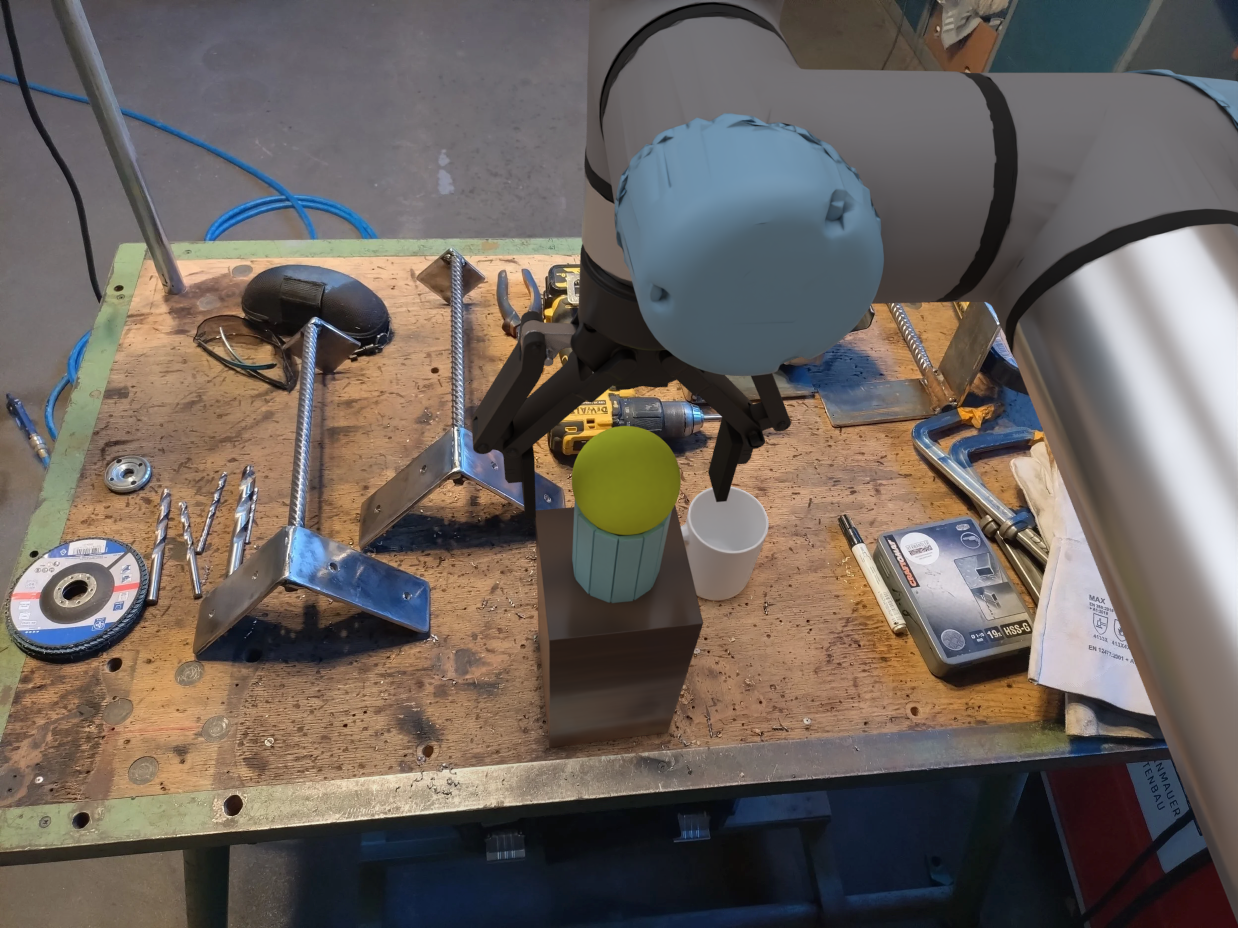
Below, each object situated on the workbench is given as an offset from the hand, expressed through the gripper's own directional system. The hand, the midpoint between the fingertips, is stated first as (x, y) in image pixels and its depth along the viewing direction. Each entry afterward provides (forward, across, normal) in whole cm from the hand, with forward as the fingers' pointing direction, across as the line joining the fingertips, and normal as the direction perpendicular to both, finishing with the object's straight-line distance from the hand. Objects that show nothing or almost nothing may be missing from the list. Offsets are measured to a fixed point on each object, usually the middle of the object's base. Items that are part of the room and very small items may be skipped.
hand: (624, 494), depth 57 cm
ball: (+2, 0, 0) cm, 2 cm away
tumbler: (+10, 0, 0) cm, 10 cm away
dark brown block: (+34, 0, 0) cm, 34 cm away
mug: (+34, -13, -12) cm, 38 cm away
